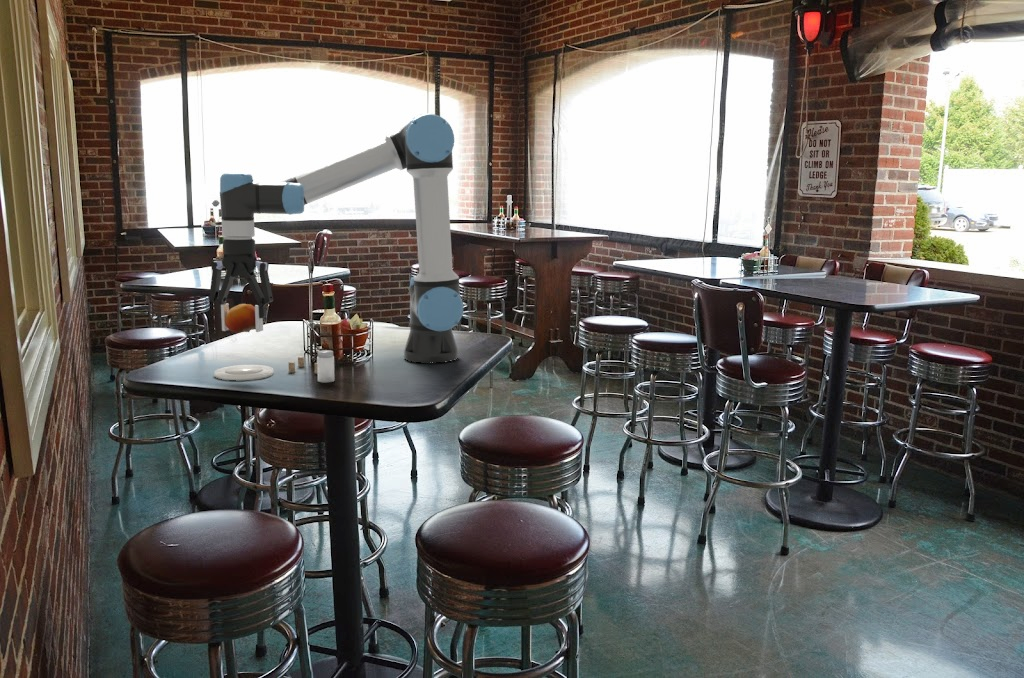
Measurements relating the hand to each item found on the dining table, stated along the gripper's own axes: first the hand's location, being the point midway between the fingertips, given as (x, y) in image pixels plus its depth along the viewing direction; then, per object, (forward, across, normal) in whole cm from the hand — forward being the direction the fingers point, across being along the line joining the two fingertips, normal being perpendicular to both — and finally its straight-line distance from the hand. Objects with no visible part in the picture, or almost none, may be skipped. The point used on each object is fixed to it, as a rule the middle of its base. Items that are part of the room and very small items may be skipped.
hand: (242, 330), depth 201 cm
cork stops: (+11, -14, -8) cm, 20 cm away
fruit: (0, 0, 0) cm, 0 cm away
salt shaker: (+11, -22, +3) cm, 25 cm away
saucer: (+11, 0, 0) cm, 11 cm away
